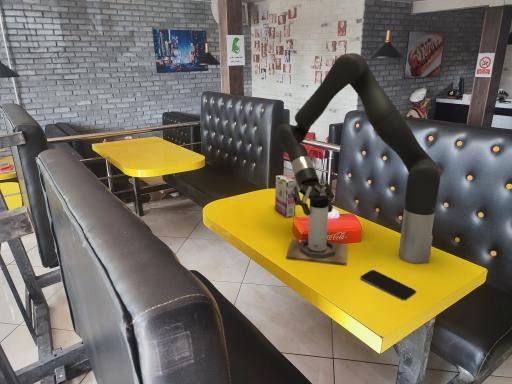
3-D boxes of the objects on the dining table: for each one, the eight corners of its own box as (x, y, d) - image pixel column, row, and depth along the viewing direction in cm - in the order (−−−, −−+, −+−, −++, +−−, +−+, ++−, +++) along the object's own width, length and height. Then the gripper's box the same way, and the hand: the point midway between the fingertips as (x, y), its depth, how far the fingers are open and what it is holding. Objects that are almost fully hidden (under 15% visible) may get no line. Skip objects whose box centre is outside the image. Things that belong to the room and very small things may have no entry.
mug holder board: (346, 246, 134) (347, 240, 133) (346, 265, 121) (347, 258, 120) (291, 241, 138) (291, 235, 138) (285, 258, 125) (286, 252, 125)
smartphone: (404, 300, 102) (359, 276, 113) (403, 304, 103) (358, 280, 113) (417, 291, 107) (372, 269, 117) (417, 294, 107) (372, 272, 118)
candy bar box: (295, 216, 162) (297, 180, 157) (285, 218, 160) (286, 182, 155) (284, 208, 172) (285, 174, 167) (274, 209, 170) (275, 175, 165)
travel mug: (318, 255, 125) (320, 200, 119) (304, 248, 130) (306, 195, 124) (330, 250, 129) (333, 196, 123) (316, 243, 134) (318, 191, 128)
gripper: (290, 168, 126) (305, 211, 119) (326, 164, 131) (342, 205, 124) (283, 179, 132) (297, 220, 126) (317, 175, 137) (332, 214, 131)
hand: (319, 213), depth 125 cm, fingers open, 8 cm apart
